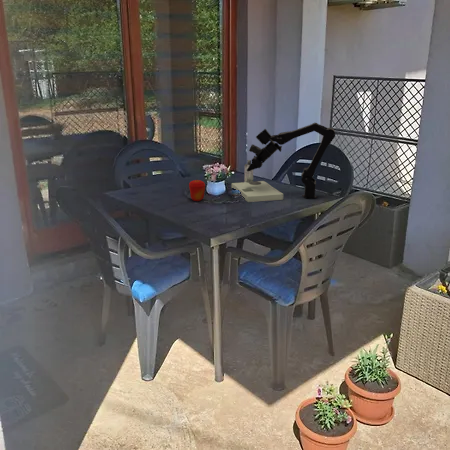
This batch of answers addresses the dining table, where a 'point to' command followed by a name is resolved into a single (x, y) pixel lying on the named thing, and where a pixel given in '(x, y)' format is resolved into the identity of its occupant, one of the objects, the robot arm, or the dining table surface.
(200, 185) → the red cylinder
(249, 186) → the block
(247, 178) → the grey upright piece
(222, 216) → the dining table surface
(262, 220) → the dining table surface
